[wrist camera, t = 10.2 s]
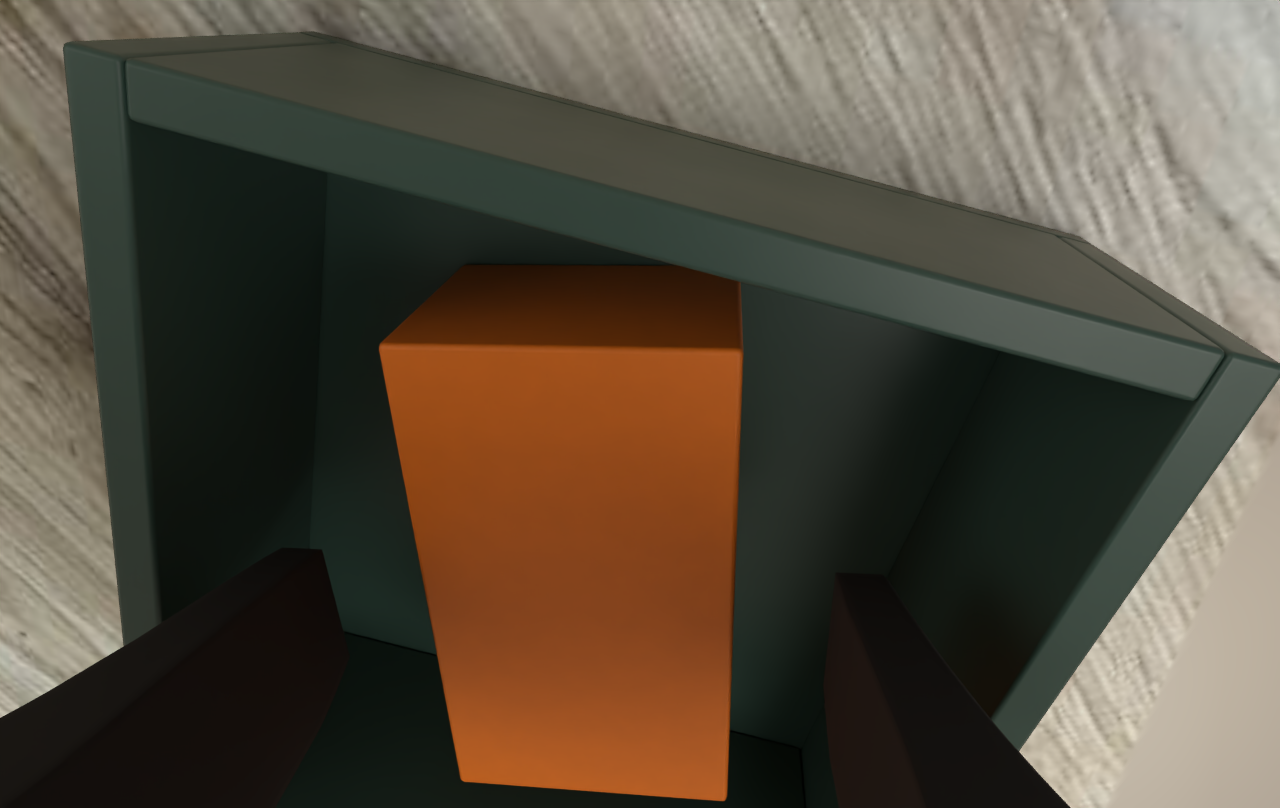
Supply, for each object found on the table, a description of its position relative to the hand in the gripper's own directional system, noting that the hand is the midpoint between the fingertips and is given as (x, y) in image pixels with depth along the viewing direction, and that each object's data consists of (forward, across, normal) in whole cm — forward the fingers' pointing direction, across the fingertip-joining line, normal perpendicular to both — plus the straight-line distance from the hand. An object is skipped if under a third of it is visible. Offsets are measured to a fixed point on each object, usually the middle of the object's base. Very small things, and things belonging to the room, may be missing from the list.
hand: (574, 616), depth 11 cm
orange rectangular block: (+4, 0, 0) cm, 4 cm away
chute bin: (+4, 0, 0) cm, 4 cm away
